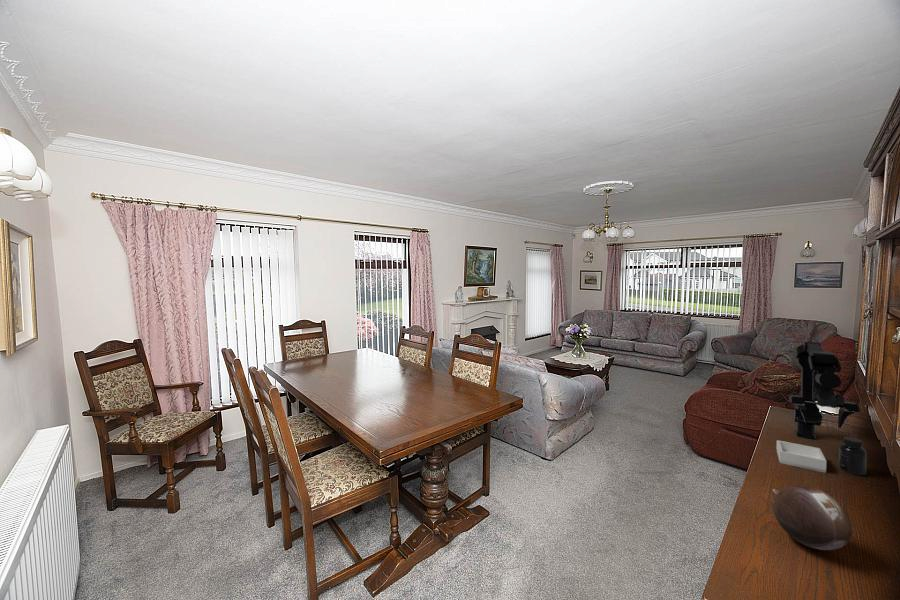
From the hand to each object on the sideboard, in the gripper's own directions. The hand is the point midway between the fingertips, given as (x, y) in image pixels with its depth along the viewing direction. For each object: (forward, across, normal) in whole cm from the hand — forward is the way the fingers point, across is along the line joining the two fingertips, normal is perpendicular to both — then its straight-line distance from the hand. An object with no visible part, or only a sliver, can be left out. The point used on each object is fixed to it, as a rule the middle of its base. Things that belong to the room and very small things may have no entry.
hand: (822, 425), depth 141 cm
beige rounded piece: (+20, -16, -44) cm, 51 cm away
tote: (+15, -7, -4) cm, 17 cm away
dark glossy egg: (+22, -14, -62) cm, 67 cm away
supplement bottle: (+15, +7, -3) cm, 17 cm away
